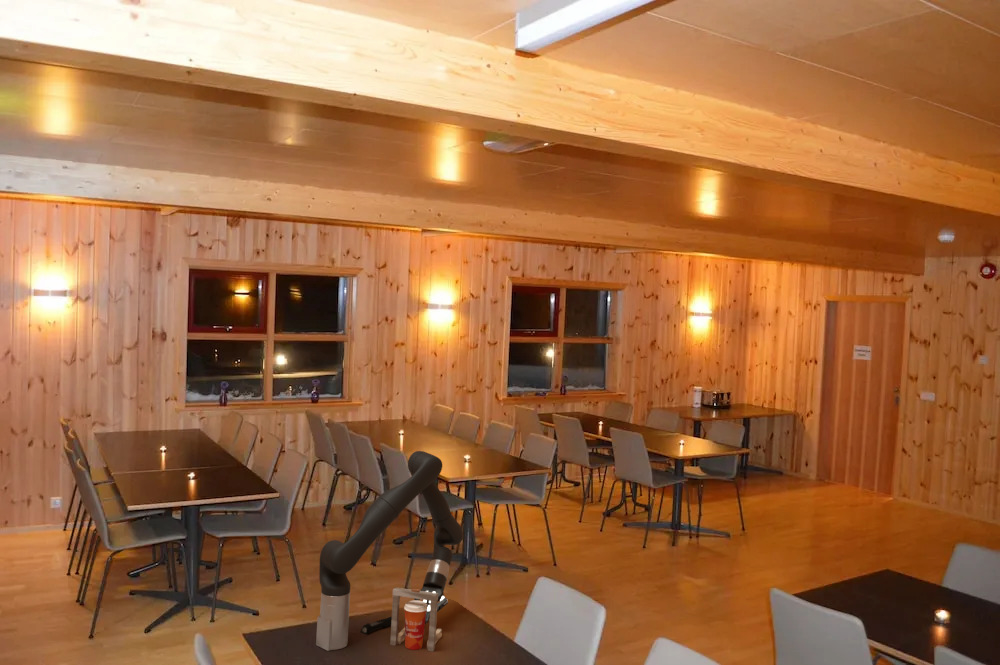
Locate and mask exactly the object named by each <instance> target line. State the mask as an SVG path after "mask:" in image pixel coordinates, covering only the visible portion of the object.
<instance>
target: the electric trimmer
mask: <svg viewBox="0 0 1000 665" xmlns="http://www.w3.org/2000/svg"><path fill="white" fill-rule="evenodd" d="M391 622H392V615H391V616H389V617H385V618H382V619H380V620H376V621H373V622H370V623H367V622H366V623H365V624H364V625H363V626H362V627H361V629H360V633H361V634H363V635H365V634H366V635H369V634H370V633H372V632H374V631H377V630H381V629H387V628H388V627H391Z"/></svg>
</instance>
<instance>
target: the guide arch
mask: <svg viewBox="0 0 1000 665" xmlns="http://www.w3.org/2000/svg"><path fill="white" fill-rule="evenodd" d="M420 590H421V589H417V588H411V589H410V588H409V589H408V588H401V587H394V588H393V589H392V602H391V603H392V604H391V607H392V609H391V616H392V622H391V626H390V642H389V643H390V646H397V645H401V644H402V643H403V642H404V641H405V626H404V627H403V628H402V629H401V631H400V632H399V622H400V620H399V619H400V601H401V597H403V598H410V599H414V598H416V599H420V600H422V601H423V600H430V601H431V602H430V618H429V622H428V623H429V626H428V639H427V641H426V649H427V651H428V652H434V651H435V650H436V644H437V643H438V642H439V641H440V639H441V638H442V637H443V636H442V634H443V629H442V628H437V621H438V620H437V616H438V612H437V604H438V602H437V601H438V593H432V592H425V591H420Z"/></svg>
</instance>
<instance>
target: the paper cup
mask: <svg viewBox="0 0 1000 665" xmlns="http://www.w3.org/2000/svg"><path fill="white" fill-rule="evenodd" d="M427 609H428V608H427V605H426V603H425V602H423V600H419V601H417V600H409V601H407V602H406V603H405V605H404V606H403V610H404V627H405V639H404V646H405V648H406V649H407V650H411V651H414V650H415V651H417V650H420V649H422V648H423V643H424V636H425V635H424V633H425V626H426V624H425V618H426V610H427Z"/></svg>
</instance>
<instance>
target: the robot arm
mask: <svg viewBox="0 0 1000 665" xmlns="http://www.w3.org/2000/svg"><path fill="white" fill-rule="evenodd" d="M407 468H408V472H409V473H410V475H411V476H410V477H409V478H408V479H407V480H406V481H404V482H402V483H401V484H399V485H398V484H397V485H395V486H394V487H391V488H390V489H387V490H386V491H384V492H383V493H381V494H380V495H379V496H377V498H376V499H375V500H374V501H373V502H372V503H371V504H370V505H369V506H368V507H367V509H366V511H365V513H364V515H363V517H362V520H361V522H360V525H359V527H358V529H357V530H356V531H355V533H354V534H352V535H351V537H350V538H349V539H348V540H346V541H345V542H342V541H341V540H337V539H334V540H329V541H327V542H326V543H325V544H324V545H323V547H322V548H321V551H320V554H319V574H318V576H319V578H318V579H319V584H320V587H321V588H320V589H321V591H320V592H321V593H320V608H319V610H320V612H319V615H318V616H317V617H316V618H317V620H316V635H315V636H316V639H315V640H316V641H315V645H316V646H317V647H319V648H321V649H323V650H325V651H327V652H329V651H336V650H340V649H344V648H345V647H347V645H348V642H349V641H348V639H349V622H350V620H349V619H350V600H351V582H350V580H349V579H348V576H347V573H348V572H350V571H351V570H352V569H353V568H354V567H355V566H356V564H358V562H359V561H360V560H361V558H362V557H363V556H364V554H366V552H367V550H368V549H369V548H370V547H371V545H372V544H373V543H374V542H375V541H376V540H377V538H379V536H380V535H382V533H383V532H384V531H385V530H386V529H387V528H388V527H389V526H390V525H391V524H392V523H393V522H394V521H395V520H396V519H397V518H398V517H399V515H400V514H401V513H402V512H403V511H404V510H405V509H406V508H407V507H408V506H409V505H410V504H411V503H412V501H413V500H415V498H416V497H418V496H419V495H420V494H422V497H423V499H424V501H425V503H426V505H427V508H428V511H429V513H430V517H431V519H432V522H433V523H434V525H435V526H436V528H435V529H434V532H433V552H432V556H431V560H430V563H429V565H428V567H427V571H426V574H425V578H424V580H423V583H422V584H423V585H422V588H421V589H419V590H420V591H425V592H432V593H438V601H437V613H439V611H440V610H442V609H443V608H444V607H446V606H447V605H448V603H449V601H448V599H447V598H446V597H445V593H444V591H445V587H446V584H447V580H448V577H449V573H450V567H451V562H452V559H453V556H454V555H453V551H452V550H451V548H448V547H446V546H448V545H449V546H456V545H460V544H461V543H462V541H463V538H464V533H463V529H462V527H461V524H460V523H459V522H458V521H457V519H456V518H455V516H454V515H453V514H452V512H451V509H450V506H449V503H448V502H447V499H446V497H445V496H444V494H443V493H442V491H441V489H440V488H439V487H438V485H437V484H436V483H435V481H436V479H437V478H439V476H440V475H441V472H442V469H443V462H442V460H441V458H439V457H438V456H436V455H434V454H432V453H429V452H426V451H424V450H423V451H422V450H416V451H414V452H412V454H410V456H409V458H408V461H407ZM413 599H414V600H417V601H421V599H416V598H413ZM414 600H413V601H414ZM422 601H423V602H425V603H426V605H427V608H428V609H427V610H426V618H425V625H427V624H428V623H429V621H430V602H431V601H430V600H423V599H422Z"/></svg>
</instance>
